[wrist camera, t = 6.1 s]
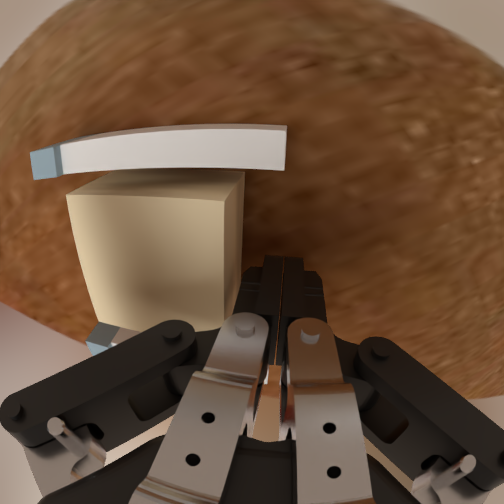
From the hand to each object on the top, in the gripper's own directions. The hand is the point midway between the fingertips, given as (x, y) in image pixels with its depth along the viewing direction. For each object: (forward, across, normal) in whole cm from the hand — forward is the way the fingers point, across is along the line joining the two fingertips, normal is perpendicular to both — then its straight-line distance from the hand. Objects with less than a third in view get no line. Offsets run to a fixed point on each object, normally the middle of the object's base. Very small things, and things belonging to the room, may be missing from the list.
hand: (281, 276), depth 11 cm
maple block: (+2, +5, -1) cm, 5 cm away
